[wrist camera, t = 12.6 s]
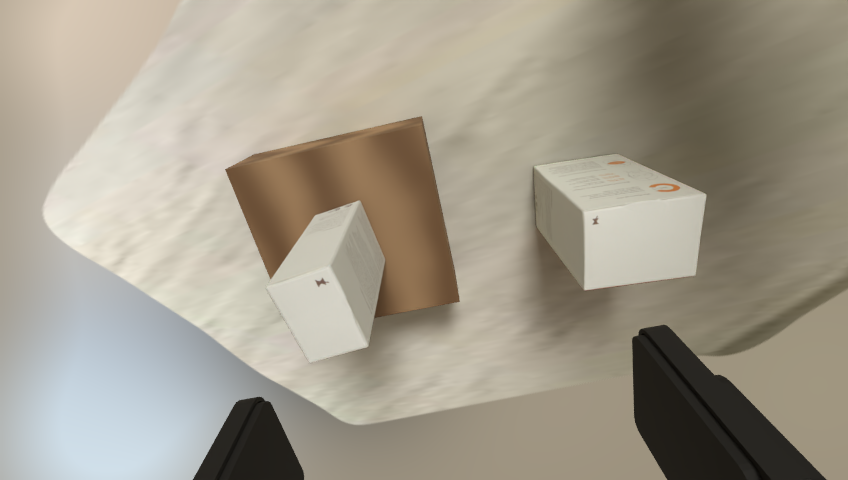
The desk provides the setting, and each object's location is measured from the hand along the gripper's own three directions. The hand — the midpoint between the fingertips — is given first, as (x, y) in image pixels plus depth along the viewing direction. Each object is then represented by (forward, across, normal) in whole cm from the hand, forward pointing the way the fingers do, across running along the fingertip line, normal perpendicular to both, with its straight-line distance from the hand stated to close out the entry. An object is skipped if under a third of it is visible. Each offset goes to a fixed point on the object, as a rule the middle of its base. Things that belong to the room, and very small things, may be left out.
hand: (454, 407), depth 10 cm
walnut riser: (+30, +8, +4) cm, 32 cm away
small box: (+31, -13, +6) cm, 34 cm away
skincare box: (+24, +8, +4) cm, 26 cm away
